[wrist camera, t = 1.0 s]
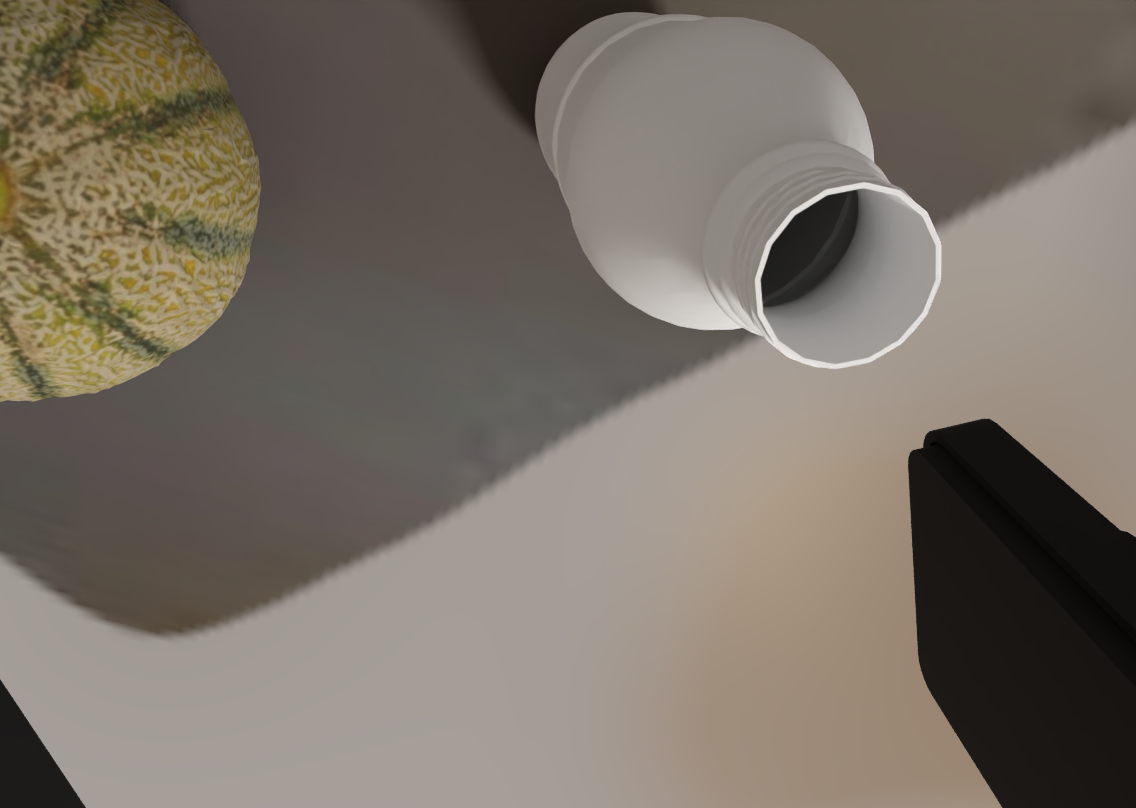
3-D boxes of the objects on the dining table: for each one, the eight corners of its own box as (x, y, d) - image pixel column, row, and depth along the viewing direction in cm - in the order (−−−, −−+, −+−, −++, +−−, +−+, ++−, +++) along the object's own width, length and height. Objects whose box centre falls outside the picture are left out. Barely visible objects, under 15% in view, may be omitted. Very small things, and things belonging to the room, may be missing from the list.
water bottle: (504, 154, 37) (539, 399, 14) (575, -22, 34) (759, -73, 11) (658, 222, 38) (914, 537, 16) (736, 59, 36) (1174, 154, 13)
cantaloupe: (-150, 205, 35) (-548, 332, 22) (-25, -156, 31) (-428, -284, 17) (206, 381, 39) (61, 579, 26) (361, 85, 35) (284, 137, 21)
